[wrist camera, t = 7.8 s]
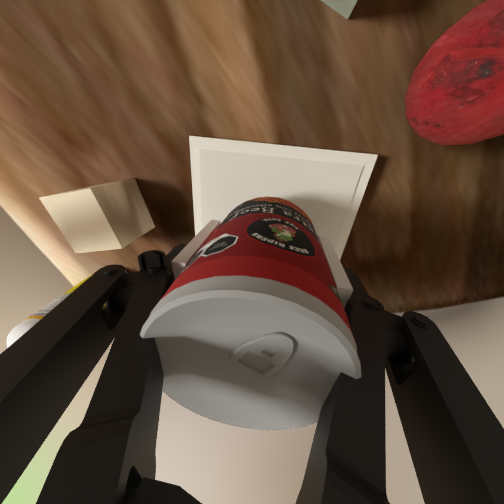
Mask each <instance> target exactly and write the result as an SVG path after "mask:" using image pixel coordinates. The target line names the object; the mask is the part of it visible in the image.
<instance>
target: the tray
mask: <svg viewBox="0 0 504 504" xmlns="http://www.w3.org/2000/svg"><path fill="white" fill-rule="evenodd" d="M189 139H190V156H191V173H192V189H193V206H194V223H195V236H196V235H197V234H198V233H199V232H200V231H201V230H202V229H203V228H204V227H205V226H206V225H207V224H208V223H209V222H210V220H211V219H212V220H219V221H221V223H222V222H223V220H224V219H225V218H226V217H227V215H228V214H229V213H230V212H231V211H232V210H233V209H234V208H236V207H237V206H238V205H240V204H242V203H243V202H245V201H247V200H251V199H254V198H257V197H267V196H268V197H278V198H282V199H285V200H288V201H290V202H292V203H294V204H295V205H297V206H299V207H300V208H301V209H302V210H303V211H304V212H305V213H306V214H307V215H308V217H309V218H310V220H311V221H312V224H313V226H314V228H315V231H316V234H317V235H318V234H322V235H328V237H329V239H330V241H331V243H332V245H333V247H334V250H335V252H336V254H337V256H338V258H339V260H340V259H341V256H342V253H343V250H344V248H345V245H346V242H347V239H348V237H349V234H350V231H351V228H352V226H353V223H354V220H355V217H356V214H357V212H358V209H359V206H360V203H361V201H362V198H363V195H364V192H365V190H366V187H367V184H368V181H369V178H370V176H371V173H372V170H373V167H374V165H375V162H376V159H377V156H378V155H375V154H366V153H356V152H346V151H336V150H326V149H316V148H306V147H296V146H286V145H277V144H267V143H257V142H247V141H237V140H227V139H217V138H207V137H197V136H189Z"/></svg>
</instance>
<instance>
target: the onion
mask: <svg viewBox="0 0 504 504" xmlns="http://www.w3.org/2000/svg"><path fill="white" fill-rule="evenodd" d="M405 106H406V120H407V122H408V123H409V124H410V126H411V127H412V128H413V130H414V131H415V132H416V134H417V135H419V136H421V137H423V138H425V139H427V140H429V141H431V142H434V143H436V144H438V145H466V144H474V143H477V142H480V141H484V140H487V139H490V138H494V137H497V136H500V135H503V134H504V0H487V1H486V2H484V3H482V4H480V5H478V6H476V7H474V8H473V9H472V10H471V11H470V12H468V13H467V14H466V15H465V16H464V17H462V18H461V19H460V20H459V21H458V22H456V23H455V24H454V25H453V26H452V27H451V28H449V29H448V30H447V31H446V32H445V33H444V34H443V35H441V36H440V37H439V38H438V39H437V40H436V41H435V42H434V43H433V45H432V46H431V48H430V49H429V50H428V52H427V53H426V54H425V56H424V57H423V58H422V60H421V61H420V63H419V64H418V65H417V67H416V68H415V69H414V72H413V75H412V78H411V81H410V84H409V87H408V90H407V93H406V96H405Z"/></svg>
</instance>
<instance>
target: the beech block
mask: <svg viewBox="0 0 504 504" xmlns="http://www.w3.org/2000/svg"><path fill="white" fill-rule="evenodd" d="M39 199H40V200H41V202H42V203H43V205H44V206H45V208H46V209H47V211H48V212H49V214H50V215H51V217H52V218H53V220H54V221H55V223H56V224H57V226H58V227H59V229H60V230H61V232H62V233H63V235H64V236H65V238H66V239H67V241H68V242H69V244H70V245H71V247H72V248H73V250H74V251H75V253H83V252H93V251H102V250H112V249H122V248H124V247H125V246H127V245H128V244H130V243H131V242H133V241H135V240H136V239H138V238H139V237H141V236H142V235H144V234H145V233H147V232H148V231H150V230H151V229H153V228H155V225H154V223H153V220H152V218H151V216H150V213H149V211H148V209H147V206H146V204H145V201H144V199H143V197H142V194H141V192H140V190H139V187H138V185H137V182H136V180H135V178H131V179H126V180H121V181H115V182H110V183H105V184H99V185H94V186H89V187H85V188H80V189H76V190H71V191H67V192H63V193H58V194H54V195H49V196H45V197H40V198H39Z"/></svg>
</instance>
